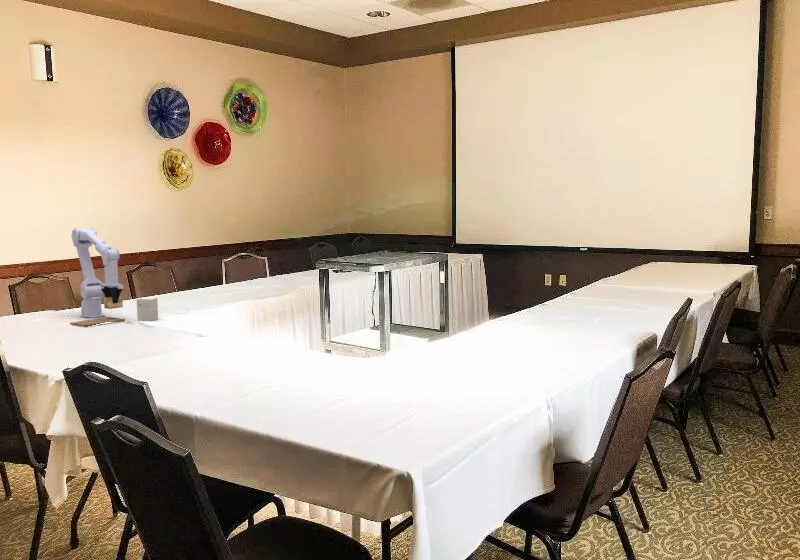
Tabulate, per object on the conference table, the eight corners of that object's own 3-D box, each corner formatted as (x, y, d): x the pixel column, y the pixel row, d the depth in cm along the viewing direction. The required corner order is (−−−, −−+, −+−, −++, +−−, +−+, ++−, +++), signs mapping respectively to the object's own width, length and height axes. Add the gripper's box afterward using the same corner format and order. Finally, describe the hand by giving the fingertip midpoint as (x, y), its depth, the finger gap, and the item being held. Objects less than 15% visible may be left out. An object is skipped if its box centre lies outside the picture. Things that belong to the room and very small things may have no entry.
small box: (158, 319, 318) (157, 297, 317) (152, 320, 313) (152, 299, 311) (142, 318, 319) (142, 297, 318) (137, 320, 313) (136, 298, 312)
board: (69, 324, 300) (69, 322, 300) (109, 318, 317) (108, 316, 317) (85, 327, 294) (85, 325, 293) (124, 321, 311) (124, 319, 310)
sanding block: (104, 308, 310) (103, 297, 310) (117, 306, 316) (116, 296, 316) (109, 308, 308) (109, 298, 308) (122, 307, 314) (122, 296, 314)
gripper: (94, 274, 310) (95, 302, 312) (113, 276, 303) (114, 305, 305) (107, 273, 317) (108, 301, 318) (126, 274, 309) (127, 303, 311)
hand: (112, 302), depth 312 cm, fingers closed on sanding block, 4 cm apart
